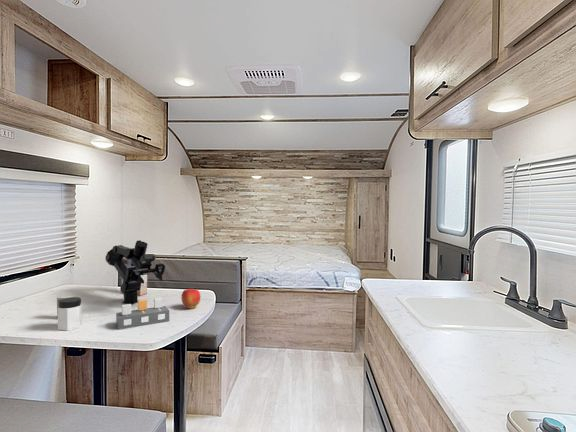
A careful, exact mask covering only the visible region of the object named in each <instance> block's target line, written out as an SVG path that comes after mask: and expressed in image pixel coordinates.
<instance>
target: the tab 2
mask: <svg viewBox="0 0 576 432" xmlns="http://www.w3.org/2000/svg"><path fill="white" fill-rule="evenodd" d="M147 307H148V301H147V299H142V300H139V301H138V302H137V310H146V309H147Z"/></svg>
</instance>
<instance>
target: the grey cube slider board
mask: <svg viewBox="0 0 576 432" xmlns="http://www.w3.org/2000/svg"><path fill="white" fill-rule="evenodd" d="M115 319H116V320H115V324H116V327H117V330H124V329H131V328H136V327H143V326H149V325H154V324H159V323H160V324H161V323H167V322H170V309H169V308H168V307H167V306H166V305H163V307H160V308H154V306H153V307H148V308H147V309H146V310H138V309H131V314H128V315H122V311H119V312H116V313H115Z"/></svg>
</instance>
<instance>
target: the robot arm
mask: <svg viewBox="0 0 576 432" xmlns="http://www.w3.org/2000/svg"><path fill="white" fill-rule="evenodd" d="M134 244H135V245H134V248H133V247H131V248H130V247H127V246H124V245H122V244H121V245H119V244H118V245H114V246H113V247H112V248H111V249H110V250H109V251H107V253H106V255H105V261H106V263H107V264H108V265H109V266H112V267H114V269H115V270H116V271H117V273H118V274H119V275H120V277H121V280H122V279H123V284H122V283H121V284H122V286H120V288H119V289H120V293H121V292H123V293H124V294H123V293H122V294H123V301H122V302H121V304H123V305H126V304H131V305H133V304H136V303H138V301H140V300H139V299H138V294H137V291H140V288H141V283H143V284H144V280H143V279H142V277H141V276H140V275H147V276H148V275H150V274H154V276H155V277H156V278H157V279H158V280H160V282H161V281H163V275H164V273H165V270H166V265H165V264H164V263H156V264H155V267H154V268H153V267H152V265H153V264H152V262H155V260H156V258H157V257H156V255H155V254H154V253H146V252H147V248H148V245H149V244H148V243H147V242H146V241H142V240H136V241H135V243H134ZM123 258H126V259H127V260H129V259H131V266H135V267H131V268H127V267H126V266H125V264H124V263H123V261H122V260H123ZM151 267H152V268H151Z"/></svg>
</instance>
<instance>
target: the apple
mask: <svg viewBox="0 0 576 432" xmlns="http://www.w3.org/2000/svg"><path fill="white" fill-rule="evenodd" d="M180 298H181V302H182V304H183V306H184V307H186V308H187V309H189V310H190V309H191V310H192V309H194V308H196V307H197V306H199V304H200V302H201V292H200V291H199V289H196V288H188V289H187V288H186V289H184V290H183V291H182V293H181V297H180Z"/></svg>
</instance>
